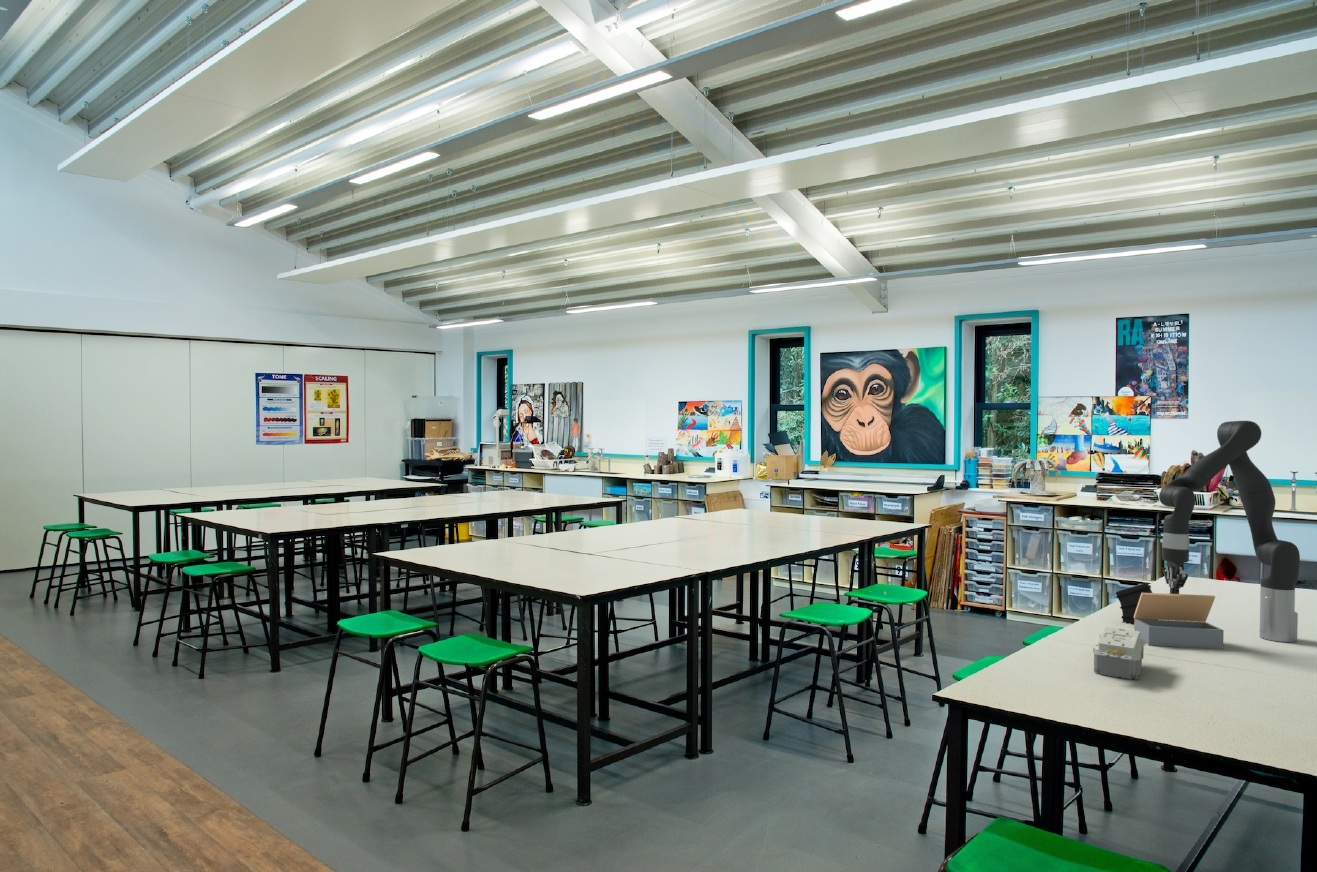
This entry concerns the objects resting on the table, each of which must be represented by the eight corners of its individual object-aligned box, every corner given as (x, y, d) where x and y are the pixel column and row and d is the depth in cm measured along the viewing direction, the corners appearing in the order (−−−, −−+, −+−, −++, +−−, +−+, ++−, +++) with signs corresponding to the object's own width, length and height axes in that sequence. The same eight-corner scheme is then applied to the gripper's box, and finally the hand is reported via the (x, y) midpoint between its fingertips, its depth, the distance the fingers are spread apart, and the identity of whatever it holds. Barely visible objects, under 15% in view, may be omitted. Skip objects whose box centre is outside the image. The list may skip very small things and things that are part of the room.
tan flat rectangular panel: (1205, 621, 269) (1204, 620, 270) (1215, 597, 263) (1214, 595, 264) (1134, 618, 272) (1133, 616, 273) (1142, 594, 267) (1141, 592, 267)
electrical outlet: (1146, 660, 242) (1147, 627, 242) (1137, 690, 219) (1138, 654, 218) (1102, 653, 249) (1102, 621, 248) (1089, 682, 226) (1089, 647, 225)
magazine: (1167, 624, 284) (1147, 583, 288) (1128, 634, 291) (1109, 594, 295) (1169, 622, 287) (1148, 581, 291) (1130, 632, 294) (1110, 593, 298)
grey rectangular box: (1205, 640, 269) (1205, 622, 269) (1223, 648, 258) (1223, 630, 258) (1134, 636, 272) (1134, 618, 272) (1148, 645, 261) (1149, 626, 261)
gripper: (1198, 550, 260) (1196, 603, 261) (1178, 544, 273) (1177, 595, 274) (1172, 549, 261) (1171, 602, 262) (1154, 543, 274) (1153, 594, 275)
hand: (1174, 598), depth 268 cm, fingers closed
